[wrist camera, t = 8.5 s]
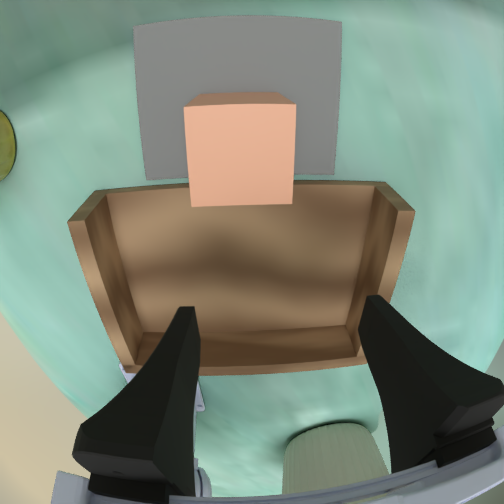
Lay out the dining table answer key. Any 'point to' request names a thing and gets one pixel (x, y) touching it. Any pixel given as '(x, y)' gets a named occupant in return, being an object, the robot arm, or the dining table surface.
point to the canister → (332, 459)
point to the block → (240, 148)
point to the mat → (237, 80)
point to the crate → (243, 271)
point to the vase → (6, 146)
